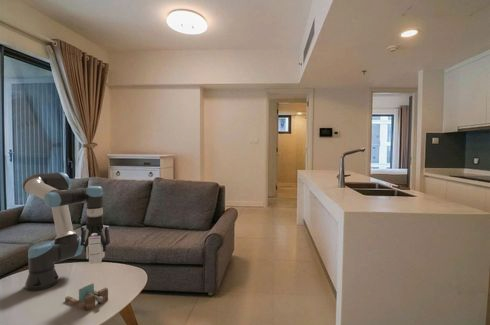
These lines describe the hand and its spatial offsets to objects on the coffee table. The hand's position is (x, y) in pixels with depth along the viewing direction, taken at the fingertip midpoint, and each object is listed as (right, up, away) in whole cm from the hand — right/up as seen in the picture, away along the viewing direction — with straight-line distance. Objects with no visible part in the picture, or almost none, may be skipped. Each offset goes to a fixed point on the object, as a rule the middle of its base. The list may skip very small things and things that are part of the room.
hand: (95, 257), depth 145 cm
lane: (0, -19, -8) cm, 21 cm away
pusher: (+5, -19, -11) cm, 22 cm away
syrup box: (0, -2, 0) cm, 2 cm away
